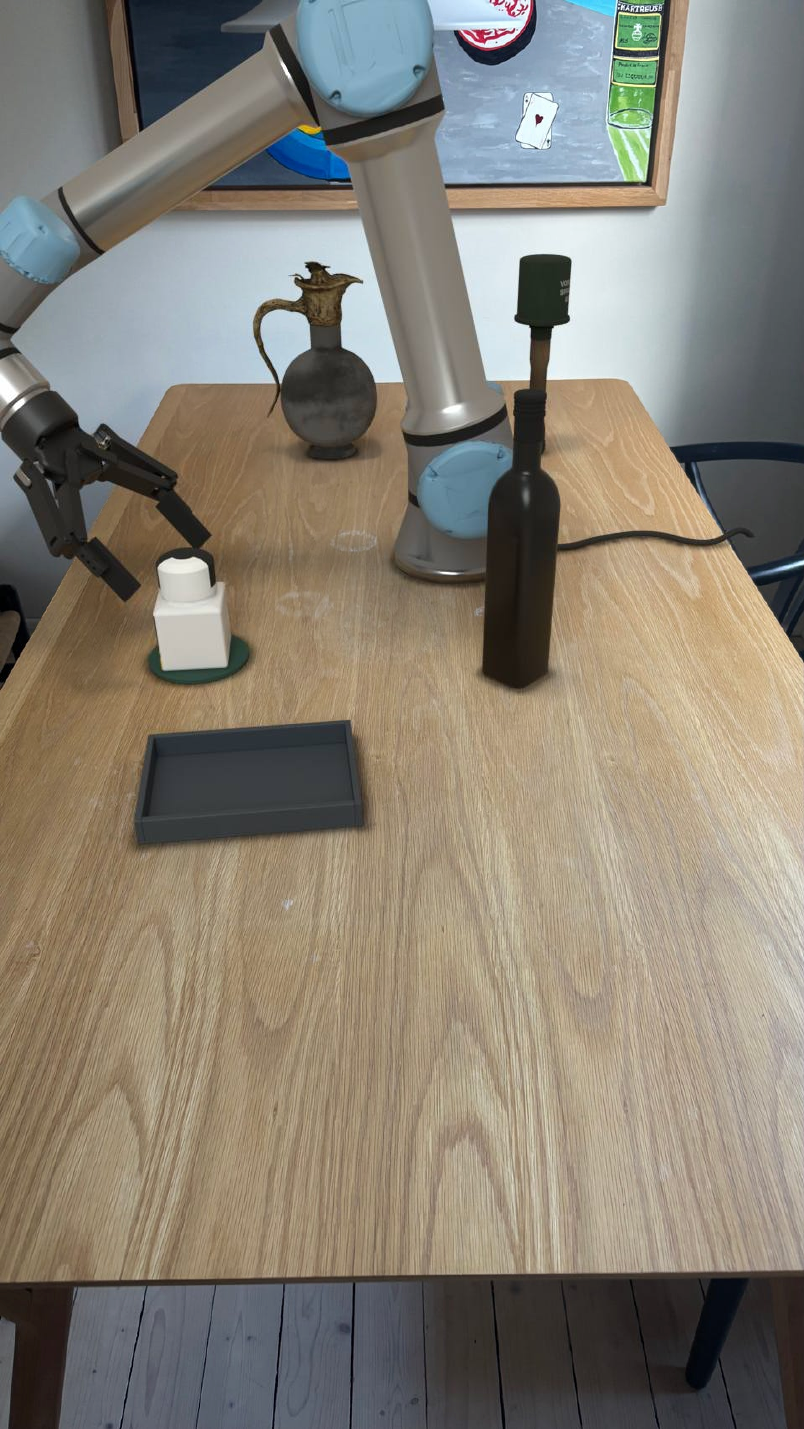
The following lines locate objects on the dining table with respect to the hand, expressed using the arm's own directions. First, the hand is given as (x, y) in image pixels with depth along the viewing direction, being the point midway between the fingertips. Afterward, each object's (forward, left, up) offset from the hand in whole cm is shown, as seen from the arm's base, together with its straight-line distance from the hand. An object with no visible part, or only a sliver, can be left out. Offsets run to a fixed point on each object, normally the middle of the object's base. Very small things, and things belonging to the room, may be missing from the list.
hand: (170, 567), depth 109 cm
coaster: (-2, +1, -11) cm, 11 cm away
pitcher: (-19, -66, -11) cm, 70 cm away
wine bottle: (-36, +9, -11) cm, 39 cm away
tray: (-8, +26, -11) cm, 29 cm away
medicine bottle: (-2, +1, -10) cm, 11 cm away
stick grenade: (-54, -61, -11) cm, 82 cm away
